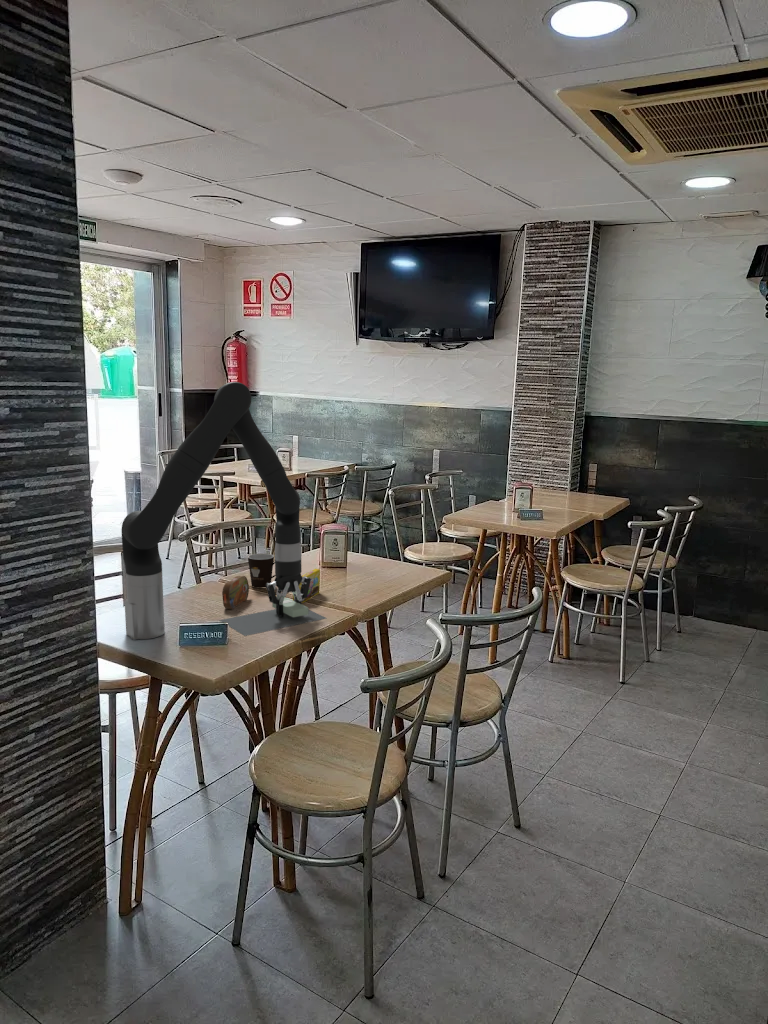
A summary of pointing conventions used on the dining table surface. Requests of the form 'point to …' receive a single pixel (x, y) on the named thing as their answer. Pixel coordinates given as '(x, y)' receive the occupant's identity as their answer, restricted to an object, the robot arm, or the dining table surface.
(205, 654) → the dining table surface
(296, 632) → the dining table surface
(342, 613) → the dining table surface
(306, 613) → the pale green box
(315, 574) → the candy box
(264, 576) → the coffee mug
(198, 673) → the dining table surface
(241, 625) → the mat
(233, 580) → the tin
